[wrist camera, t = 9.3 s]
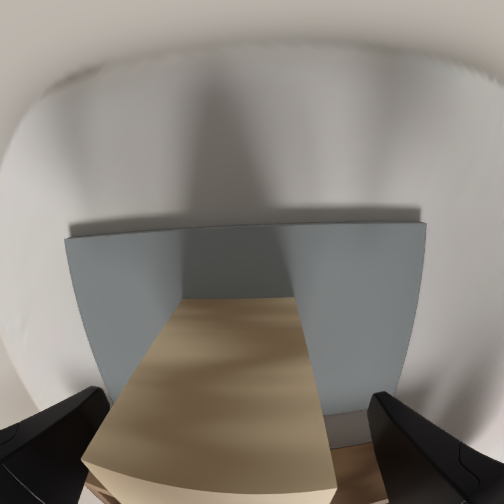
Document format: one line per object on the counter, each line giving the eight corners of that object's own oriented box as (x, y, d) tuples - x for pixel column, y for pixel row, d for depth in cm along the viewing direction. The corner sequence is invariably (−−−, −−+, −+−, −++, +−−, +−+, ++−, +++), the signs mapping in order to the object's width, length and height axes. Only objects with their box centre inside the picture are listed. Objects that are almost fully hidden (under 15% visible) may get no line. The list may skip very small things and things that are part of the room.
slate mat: (420, 221, 10) (426, 223, 10) (387, 398, 12) (390, 404, 12) (70, 237, 11) (64, 239, 10) (117, 399, 13) (114, 404, 13)
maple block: (294, 297, 11) (337, 487, 3) (291, 383, 12) (307, 541, 4) (182, 299, 11) (80, 459, 3) (197, 382, 12) (151, 529, 4)
